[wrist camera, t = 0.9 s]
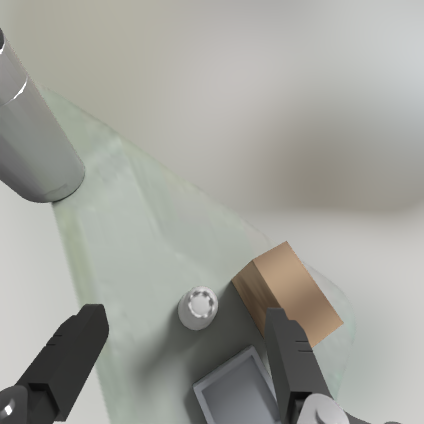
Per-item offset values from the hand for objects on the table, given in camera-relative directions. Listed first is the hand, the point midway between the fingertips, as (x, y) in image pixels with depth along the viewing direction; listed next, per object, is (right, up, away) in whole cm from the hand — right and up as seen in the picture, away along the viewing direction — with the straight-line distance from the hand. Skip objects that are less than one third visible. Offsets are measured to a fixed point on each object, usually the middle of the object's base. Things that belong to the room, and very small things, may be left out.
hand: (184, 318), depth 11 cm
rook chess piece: (-1, -7, +16) cm, 17 cm away
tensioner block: (+7, -6, +17) cm, 20 cm away
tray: (+4, -15, +13) cm, 20 cm away
